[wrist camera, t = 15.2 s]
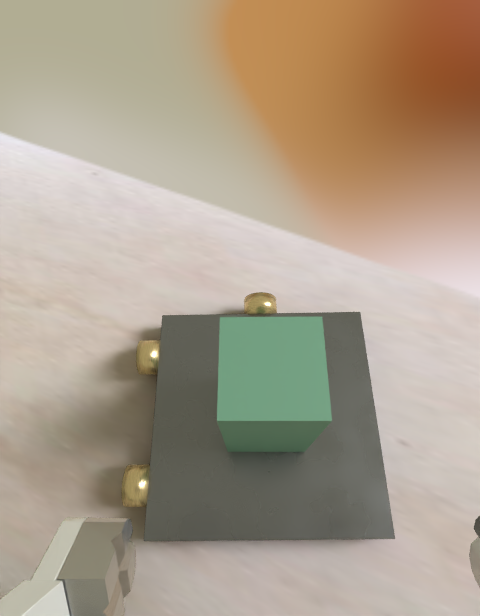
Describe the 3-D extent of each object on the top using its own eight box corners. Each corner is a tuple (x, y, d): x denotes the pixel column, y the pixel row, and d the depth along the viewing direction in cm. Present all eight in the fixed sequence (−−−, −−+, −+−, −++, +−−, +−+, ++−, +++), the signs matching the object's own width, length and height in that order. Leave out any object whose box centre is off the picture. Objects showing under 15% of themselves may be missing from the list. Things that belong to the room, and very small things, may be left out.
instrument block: (299, 367, 24) (321, 302, 16) (304, 452, 21) (332, 421, 14) (229, 367, 24) (220, 303, 16) (227, 451, 22) (216, 420, 14)
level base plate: (351, 305, 27) (359, 290, 25) (385, 537, 21) (398, 539, 19) (150, 309, 27) (142, 294, 25) (127, 539, 21) (115, 542, 19)
